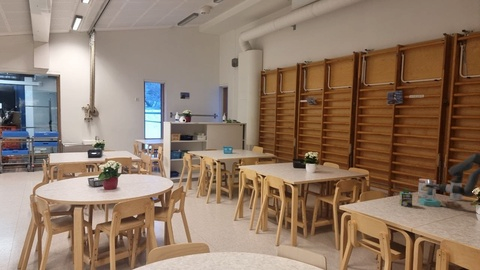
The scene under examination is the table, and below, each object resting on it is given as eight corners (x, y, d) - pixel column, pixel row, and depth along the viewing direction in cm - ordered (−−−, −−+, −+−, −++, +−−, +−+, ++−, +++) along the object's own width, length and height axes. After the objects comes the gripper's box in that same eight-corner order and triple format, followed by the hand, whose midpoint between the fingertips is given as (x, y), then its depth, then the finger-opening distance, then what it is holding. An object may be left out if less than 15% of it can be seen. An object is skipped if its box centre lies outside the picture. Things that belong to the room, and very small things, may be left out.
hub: (434, 202, 306) (434, 198, 306) (440, 206, 292) (440, 202, 292) (418, 202, 308) (418, 197, 308) (424, 205, 295) (424, 201, 294)
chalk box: (409, 204, 298) (410, 188, 297) (412, 206, 289) (413, 190, 288) (398, 203, 300) (399, 187, 300) (401, 206, 291) (401, 189, 291)
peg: (431, 194, 302) (432, 179, 301) (433, 195, 297) (434, 180, 297) (426, 194, 302) (426, 179, 302) (428, 195, 298) (428, 180, 298)
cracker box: (417, 199, 320) (418, 178, 319) (419, 198, 324) (420, 178, 323) (433, 202, 309) (434, 180, 308) (435, 201, 313) (436, 180, 313)
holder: (454, 204, 301) (454, 201, 301) (461, 208, 289) (461, 204, 289) (440, 203, 303) (440, 200, 303) (446, 207, 291) (446, 203, 291)
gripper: (450, 183, 293) (429, 180, 306) (445, 185, 284) (424, 182, 297) (450, 191, 293) (429, 188, 307) (444, 193, 284) (423, 190, 297)
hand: (427, 185), depth 302 cm, fingers closed on peg, 4 cm apart
